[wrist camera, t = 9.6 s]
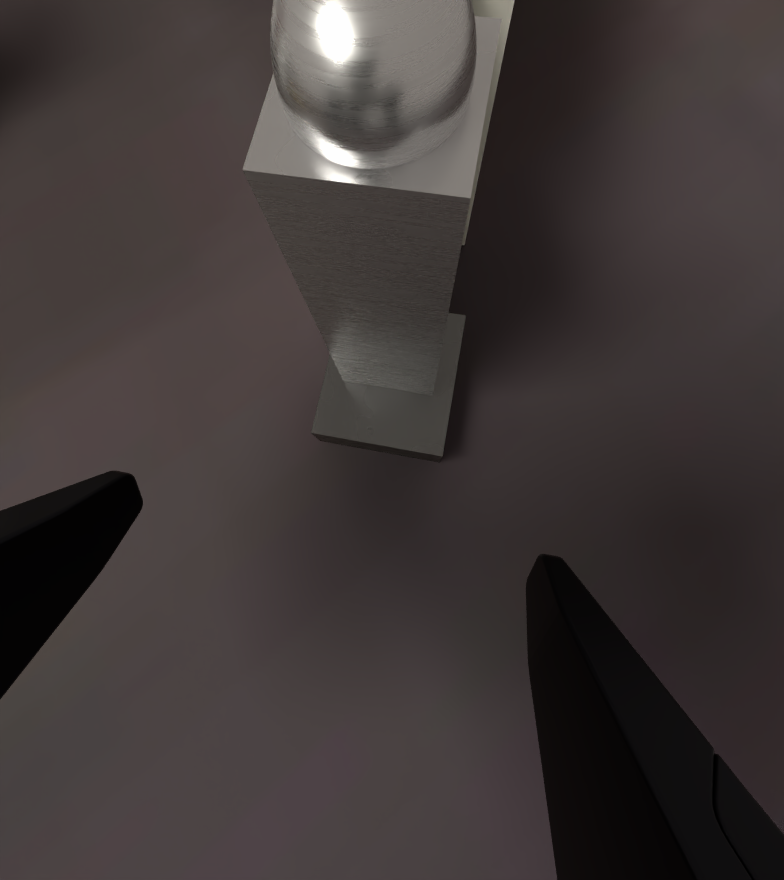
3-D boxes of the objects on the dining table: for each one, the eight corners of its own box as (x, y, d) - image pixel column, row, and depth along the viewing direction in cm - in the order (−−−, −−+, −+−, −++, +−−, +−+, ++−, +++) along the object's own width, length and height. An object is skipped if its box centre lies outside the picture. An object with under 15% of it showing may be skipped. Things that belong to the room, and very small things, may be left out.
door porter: (439, 462, 15) (553, 253, 3) (320, 440, 16) (26, 184, 4) (460, 333, 16) (605, -180, 4) (349, 316, 17) (197, -197, 5)
